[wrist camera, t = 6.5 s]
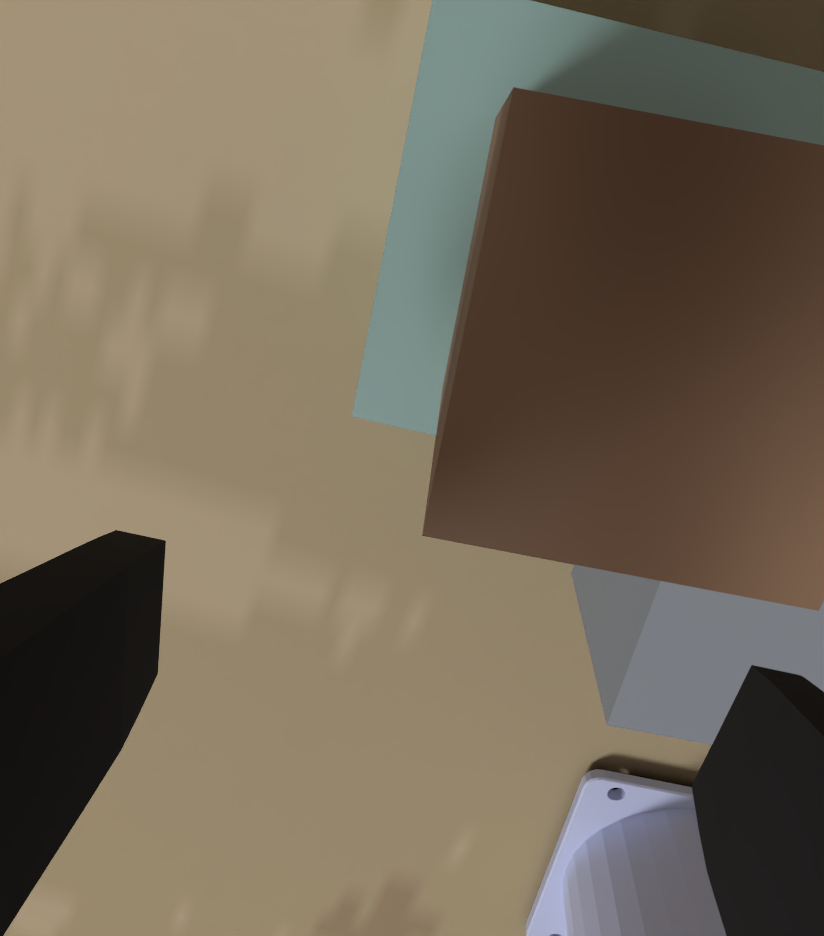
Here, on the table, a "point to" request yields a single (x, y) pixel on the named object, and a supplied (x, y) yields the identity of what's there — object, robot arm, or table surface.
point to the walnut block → (641, 353)
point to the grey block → (686, 649)
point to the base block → (468, 141)
